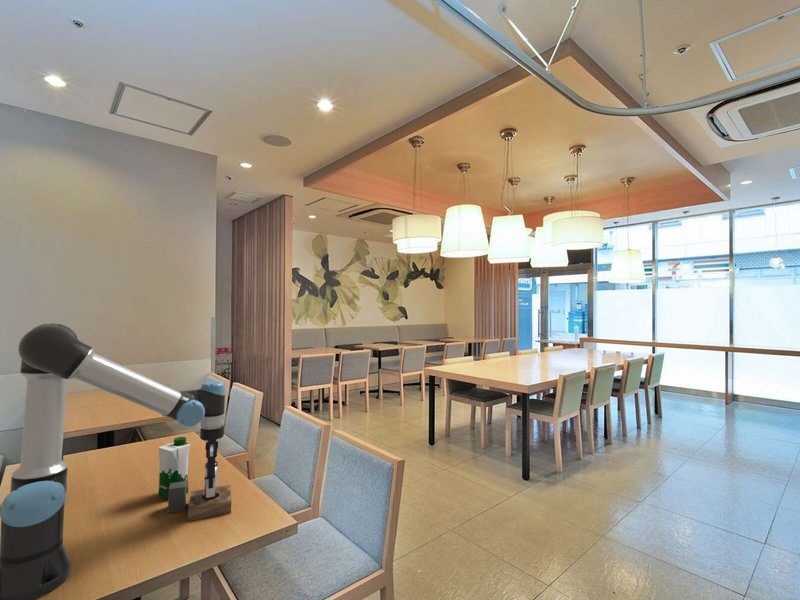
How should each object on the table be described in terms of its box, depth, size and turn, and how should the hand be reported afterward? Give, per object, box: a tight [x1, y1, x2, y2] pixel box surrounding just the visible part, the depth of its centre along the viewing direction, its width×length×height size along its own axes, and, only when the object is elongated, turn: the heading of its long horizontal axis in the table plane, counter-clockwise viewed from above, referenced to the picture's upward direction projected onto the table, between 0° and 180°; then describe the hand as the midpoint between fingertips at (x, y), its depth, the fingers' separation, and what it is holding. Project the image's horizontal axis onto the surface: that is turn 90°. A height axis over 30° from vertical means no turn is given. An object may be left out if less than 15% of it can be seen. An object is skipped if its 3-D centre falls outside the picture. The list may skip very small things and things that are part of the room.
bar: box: [167, 481, 187, 514], centre depth 136 cm, size 5×5×8 cm
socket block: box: [187, 484, 232, 522], centre depth 137 cm, size 13×13×4 cm
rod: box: [204, 460, 219, 500], centre depth 137 cm, size 4×4×13 cm
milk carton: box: [157, 436, 192, 500], centre depth 146 cm, size 9×9×20 cm
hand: (210, 493), depth 137 cm, fingers closed on rod, 4 cm apart
